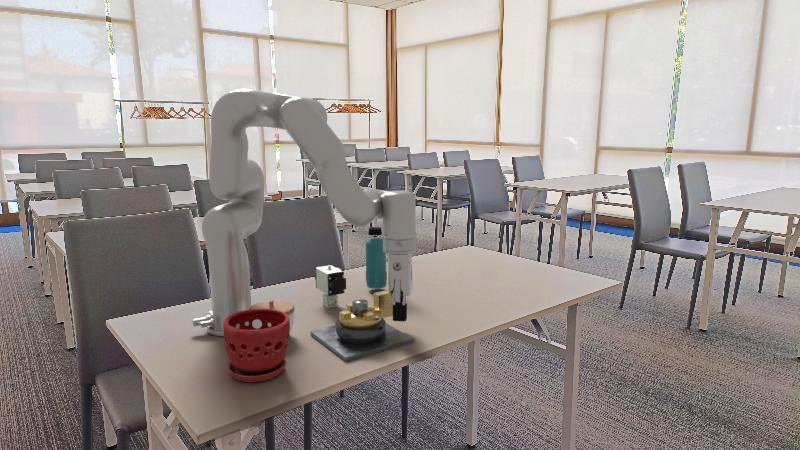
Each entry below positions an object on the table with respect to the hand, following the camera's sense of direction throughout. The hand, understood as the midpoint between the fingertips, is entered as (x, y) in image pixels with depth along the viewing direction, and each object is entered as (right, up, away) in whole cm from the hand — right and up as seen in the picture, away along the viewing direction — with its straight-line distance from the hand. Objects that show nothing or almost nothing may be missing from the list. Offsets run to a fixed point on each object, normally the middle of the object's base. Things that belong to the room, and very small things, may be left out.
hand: (399, 319), depth 123 cm
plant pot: (-29, -8, -15) cm, 34 cm away
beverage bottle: (-7, +2, +39) cm, 40 cm away
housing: (-9, -5, +2) cm, 11 cm away
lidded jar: (-31, -5, +3) cm, 31 cm away
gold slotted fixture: (-7, 0, +3) cm, 7 cm away
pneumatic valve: (-19, -1, +25) cm, 32 cm away
